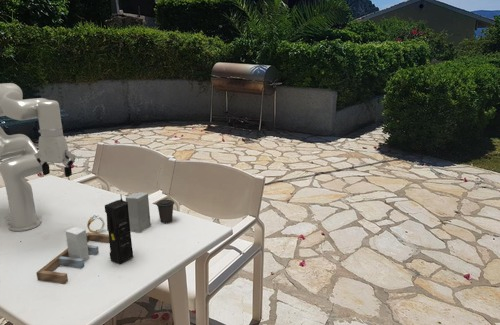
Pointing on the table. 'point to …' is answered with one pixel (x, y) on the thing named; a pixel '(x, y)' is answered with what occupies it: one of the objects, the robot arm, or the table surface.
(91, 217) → the ring
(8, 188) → the robot arm
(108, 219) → the portable radio
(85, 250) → the skincare box
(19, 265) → the table surface
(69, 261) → the slot rack
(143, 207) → the skincare box
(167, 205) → the coffee cup
